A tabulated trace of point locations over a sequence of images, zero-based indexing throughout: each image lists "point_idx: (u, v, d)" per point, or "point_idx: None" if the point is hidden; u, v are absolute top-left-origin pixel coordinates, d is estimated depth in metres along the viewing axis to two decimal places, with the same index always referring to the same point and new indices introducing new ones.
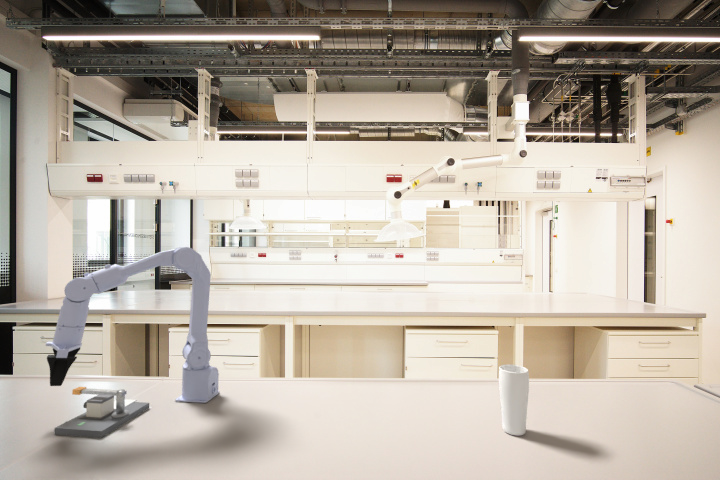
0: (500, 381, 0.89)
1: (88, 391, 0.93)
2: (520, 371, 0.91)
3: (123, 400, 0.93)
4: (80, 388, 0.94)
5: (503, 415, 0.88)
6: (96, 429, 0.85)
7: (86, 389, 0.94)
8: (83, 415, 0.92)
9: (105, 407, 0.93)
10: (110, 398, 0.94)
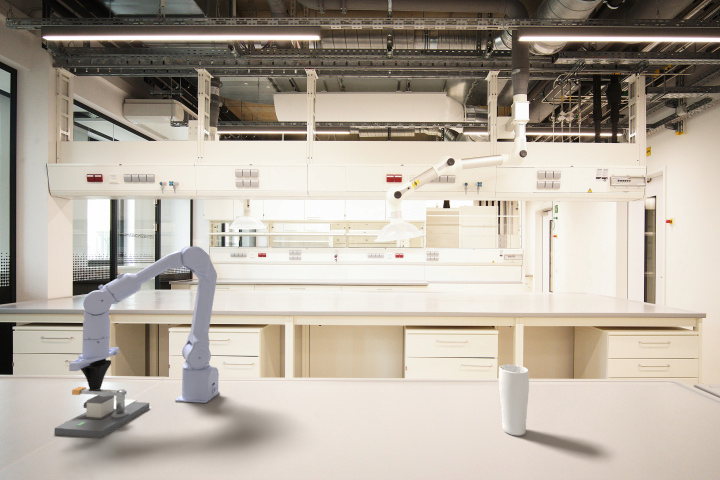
0: (500, 381, 0.89)
1: (88, 391, 0.93)
2: (520, 371, 0.91)
3: (124, 400, 0.93)
4: (80, 388, 0.94)
5: (503, 415, 0.88)
6: (96, 429, 0.85)
7: (86, 389, 0.94)
8: (83, 415, 0.92)
9: (105, 407, 0.93)
10: (110, 398, 0.94)
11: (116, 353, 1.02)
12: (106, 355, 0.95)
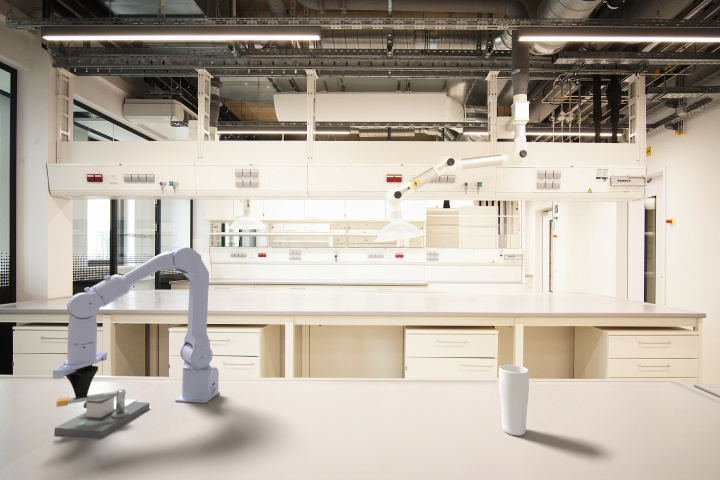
0: (500, 381, 0.89)
1: (78, 399, 0.88)
2: (520, 371, 0.91)
3: (124, 399, 0.93)
4: (64, 399, 0.87)
5: (503, 415, 0.88)
6: (96, 429, 0.85)
7: (73, 398, 0.88)
8: (83, 415, 0.92)
9: (105, 407, 0.93)
10: (110, 398, 0.94)
11: (104, 358, 0.97)
12: (93, 361, 0.90)
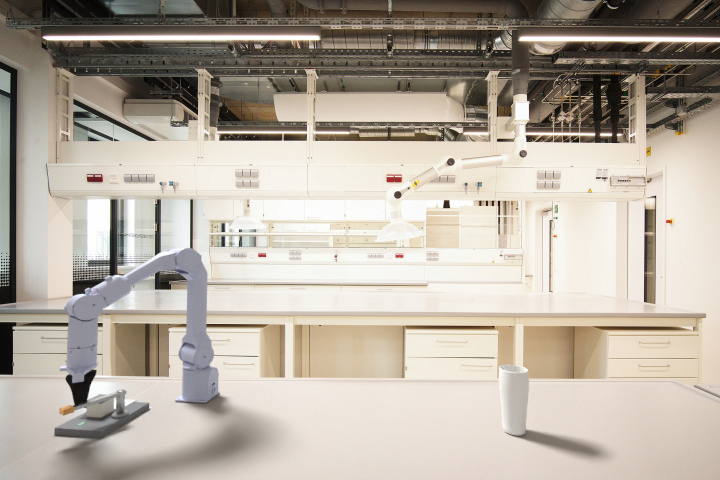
0: (500, 381, 0.89)
1: (84, 404, 0.85)
2: (520, 371, 0.91)
3: None
4: (68, 407, 0.83)
5: (503, 415, 0.88)
6: (96, 429, 0.85)
7: (76, 405, 0.85)
8: (83, 415, 0.92)
9: (105, 407, 0.93)
10: None
11: None
12: (97, 363, 0.88)
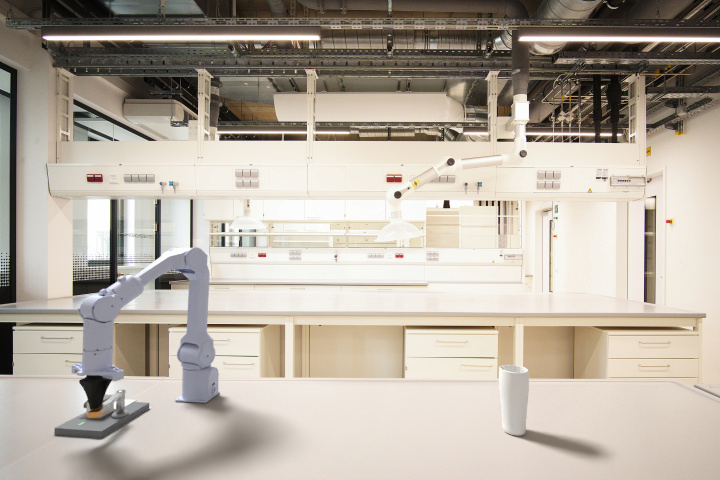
0: (500, 381, 0.89)
1: (106, 405, 0.85)
2: (520, 371, 0.91)
3: None
4: (96, 409, 0.82)
5: (503, 415, 0.88)
6: (96, 429, 0.85)
7: (99, 407, 0.83)
8: (83, 415, 0.92)
9: None
10: None
11: None
12: None
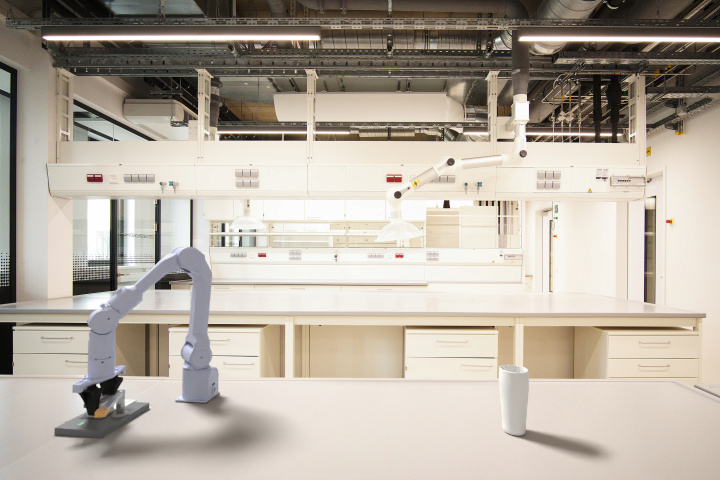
0: (500, 381, 0.89)
1: (110, 405, 0.85)
2: (520, 371, 0.91)
3: None
4: (102, 409, 0.82)
5: (503, 415, 0.88)
6: (96, 429, 0.85)
7: (105, 407, 0.84)
8: (83, 415, 0.92)
9: None
10: (110, 398, 0.94)
11: (123, 372, 1.00)
12: (111, 375, 0.93)
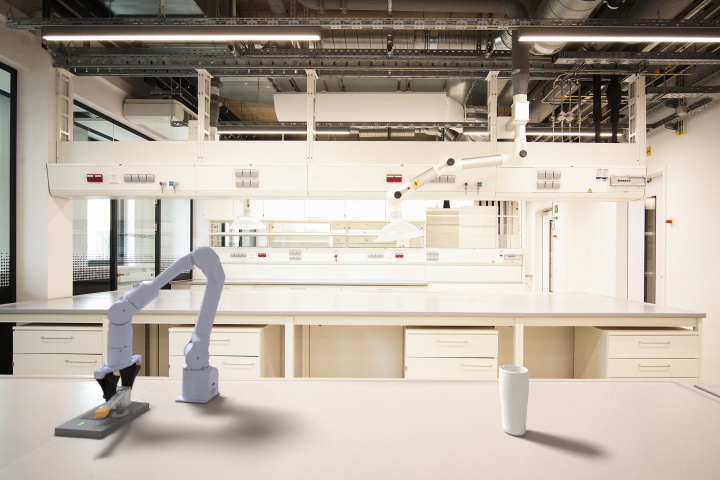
0: (500, 381, 0.89)
1: (110, 405, 0.85)
2: (520, 371, 0.91)
3: None
4: (102, 409, 0.82)
5: (503, 415, 0.88)
6: (96, 429, 0.85)
7: (105, 407, 0.84)
8: (83, 415, 0.92)
9: None
10: (127, 389, 1.00)
11: (139, 361, 1.06)
12: (128, 363, 0.99)
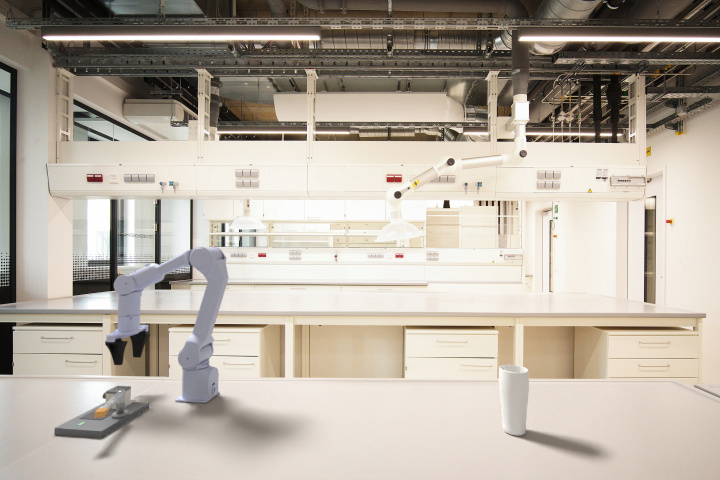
0: (500, 381, 0.89)
1: (110, 405, 0.85)
2: (520, 371, 0.91)
3: None
4: (102, 409, 0.82)
5: (503, 415, 0.88)
6: (96, 429, 0.85)
7: (105, 407, 0.84)
8: (83, 415, 0.92)
9: None
10: (127, 389, 1.00)
11: (146, 330, 1.17)
12: (137, 330, 1.10)
